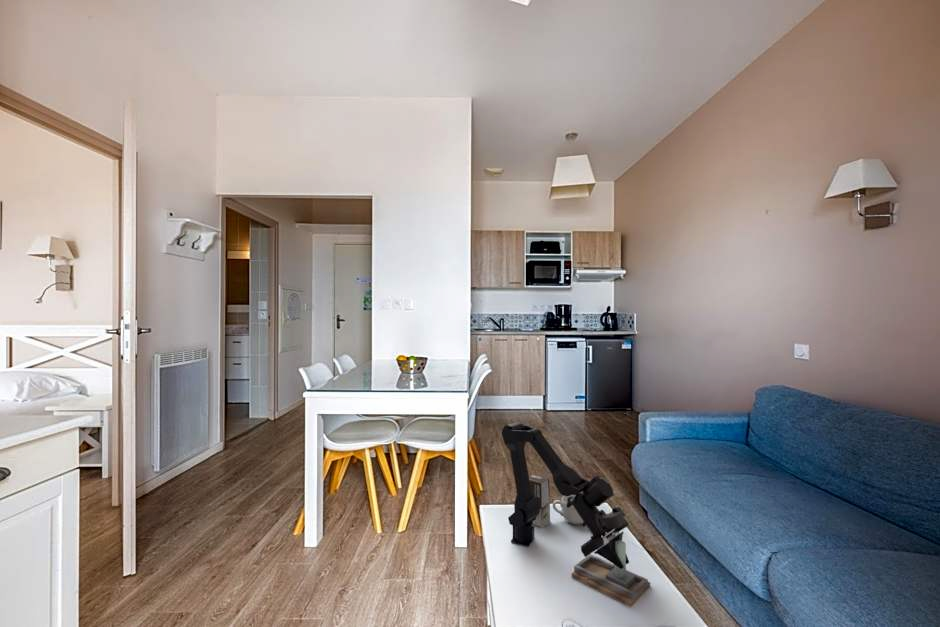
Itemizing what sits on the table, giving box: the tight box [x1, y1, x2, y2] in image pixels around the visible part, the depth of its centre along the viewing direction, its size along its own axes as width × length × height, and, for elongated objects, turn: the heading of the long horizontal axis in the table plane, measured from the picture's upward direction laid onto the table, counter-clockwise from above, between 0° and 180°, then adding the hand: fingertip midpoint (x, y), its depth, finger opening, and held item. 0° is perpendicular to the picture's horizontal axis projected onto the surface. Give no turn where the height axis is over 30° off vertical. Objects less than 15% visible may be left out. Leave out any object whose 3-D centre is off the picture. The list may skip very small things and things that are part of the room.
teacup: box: [552, 495, 584, 526], centre depth 160 cm, size 14×11×8 cm
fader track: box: [571, 553, 651, 608], centre depth 123 cm, size 18×12×3 cm, turn 44°
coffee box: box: [528, 472, 551, 528], centre depth 160 cm, size 9×6×16 cm
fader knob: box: [606, 540, 636, 589], centre depth 121 cm, size 6×6×11 cm
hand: (625, 565), depth 120 cm, fingers closed on fader knob, 3 cm apart
